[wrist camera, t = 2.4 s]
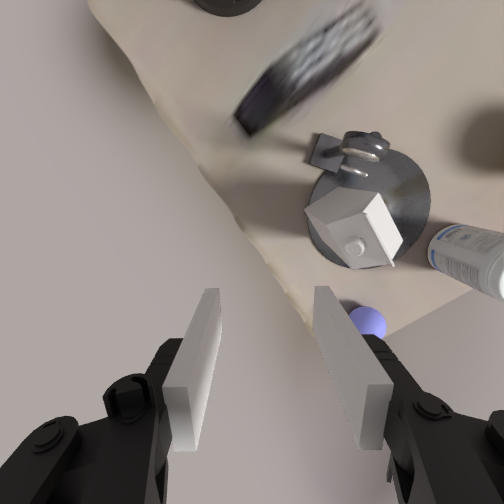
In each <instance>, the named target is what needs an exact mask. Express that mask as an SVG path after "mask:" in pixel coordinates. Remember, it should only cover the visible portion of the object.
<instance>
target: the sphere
mask: <svg viewBox="0 0 504 504" xmlns="http://www.w3.org/2000/svg"><path fill="white" fill-rule="evenodd" d="M349 317H350V319H351V320H352V322H353V323H354V325H355V326H356V328H357V329H358V331H359V332H360V334H375V335H376V336H377V337H379V338H380V339H382V338H383V337H384V335H385V333H386V322H385V319H384V317H383V316H382V315H381V313H380V312H379V311H377V310H375V309H373V308H371V307H366V306H365V307H358V308H356V309H354V310H353V311H352V312H351V313H350V314H349Z"/></svg>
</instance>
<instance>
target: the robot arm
mask: <svg viewBox="0 0 504 504" xmlns="http://www.w3.org/2000/svg"><path fill="white" fill-rule="evenodd" d="M194 1H195V2H196V3H197V4H198V5H199V6H200V7H202V8H203V9H205V10H206V11H208V12H210V13H212V14H215V15H219V16H227V17H229V16H237V15H241V14H243V13H246V12H248V11H250V10H251V9H253V8H254V7H255V6H257V5H258V4H259V3H260V2H261V1H262V0H194ZM313 331H314V334H315V336H316V339H317V342H318V344H319V347H320V350H321V352H322V355H323V357H324V360H325V363H326V366H327V368H328V371H329V374H330V376H331V379H332V381H333V384H334V387H335V389H336V392H337V395H338V398H339V400H340V403H341V406H342V408H343V411H344V414H345V416H346V419H347V422H348V424H349V427H350V429H351V432H352V435H353V438H354V440H355V443H356V446H357V448H358V450H382V446H383V440H384V438H385V440H386V442H387V444H388V446H389V448H390V450H391V455H390V460H389V465H388V471H387V482H390V483H391V479H392V475H393V480H394V484H395V489H396V493H397V498H398V502H399V504H504V410H498V411H493V412H492V414H491V415H490V418H489V420H488V421H485V420H481V419H477V418H473V417H469V416H465V415H461V414H458V413H455V412H453V410H452V409H451V408H450V407H449V406H448V405H447V404H446V403H445V402H443V401H442V400H441V399H439V398H438V397H436V396H434V395H432V394H430V393H427V392H424V391H423V390H422V389H421V387H420V386H419V385H418V384H417V382H416V381H415V380H414V379H413V377H412V376H411V375H410V373H409V372H408V371H407V370H406V368H405V367H404V366H403V364H401V362H400V361H398V358H397V357H396V355H395V354H394V353H392V350H391V349H390V348H389V346H388V345H387V344H386V343H385V342H384V341H383V340H382V339H380V338H379V337H377V336H376V335H375V334H360V332H359V331H358V329H357V328H356V326H355V325H354V323H353V322H352V320H351V319H350V317H349V316H348V314H347V313H346V311H345V310H344V308H343V307H342V305H341V304H340V302H339V301H338V299H337V298H336V296H335V295H334V293H333V292H332V290H331V289H330V287H329V286H315V292H314V311H313ZM221 334H222V320H221V307H220V295H219V288H211V289H205V291H204V293H203V295H202V298H201V300H200V302H199V304H198V307H197V309H196V311H195V313H194V316H193V318H192V320H191V323H190V325H189V327H188V329H187V332H186V334H185V336H184V338H174V339H173V338H172V339H168V340H167V341H166V342H165V343H164V344H162V345H161V346H160V347H159V349H158V351H157V353H156V355H155V358H153V360H152V362H151V364H150V366H149V367H148V369H147V371H146V373H145V374H142V373H138V374H131V375H128V376H125V377H123V378H121V379H119V380H117V381H116V382H114V383H113V384H112V385H111V386H110V387H109V388H108V389H107V390H106V392H105V394H104V395H103V401H104V404H105V408H106V411H107V414H108V417H106V418H103V419H100V420H97V421H94V422H91V423H88V424H84V425H80V426H79V425H78V422H77V421H76V419H75V418H74V417H71V416H63V417H57V418H55V419H52V420H50V421H48V422H46V423H44V424H43V425H41V426H40V427H38V428H37V429H35V430H34V431H33V432H32V433H31V434H30V435H29V436H28V437H27V438H26V439H24V441H23V442H22V443H21V444H20V445H19V447H18V448H17V449H16V450H15V451H14V452H13V454H12V455H11V456H10V457H9V458H8V459H7V461H6V462H5V463H4V464H3V465H2V467H1V468H0V504H166V498H167V481H168V460H167V454H168V451H169V447H170V444H171V441H172V445H173V450H174V452H184V451H185V452H186V451H197V447H198V441H199V437H200V432H201V428H202V423H203V418H204V414H205V409H206V404H207V399H208V395H209V390H210V385H211V381H212V376H213V372H214V367H215V362H216V358H217V353H218V348H219V343H220V338H221Z"/></svg>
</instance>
